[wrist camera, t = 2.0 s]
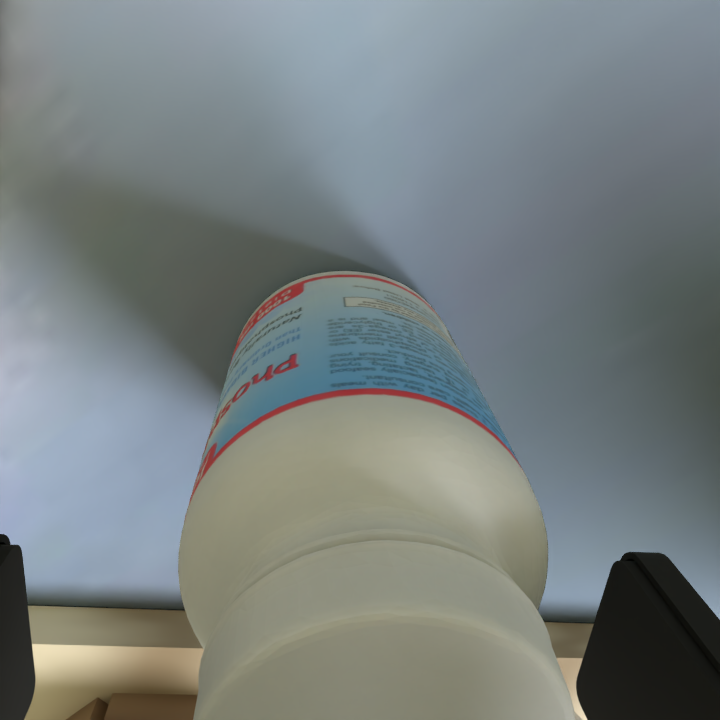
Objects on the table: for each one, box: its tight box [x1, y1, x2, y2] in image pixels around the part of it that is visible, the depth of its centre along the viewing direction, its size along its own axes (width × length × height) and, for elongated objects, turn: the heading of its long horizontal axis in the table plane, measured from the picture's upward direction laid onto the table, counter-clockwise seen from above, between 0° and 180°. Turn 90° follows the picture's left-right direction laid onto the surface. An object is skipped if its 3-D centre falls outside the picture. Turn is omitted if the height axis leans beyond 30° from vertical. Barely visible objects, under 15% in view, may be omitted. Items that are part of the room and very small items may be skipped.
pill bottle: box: [178, 271, 575, 720], centre depth 12 cm, size 6×6×11 cm
